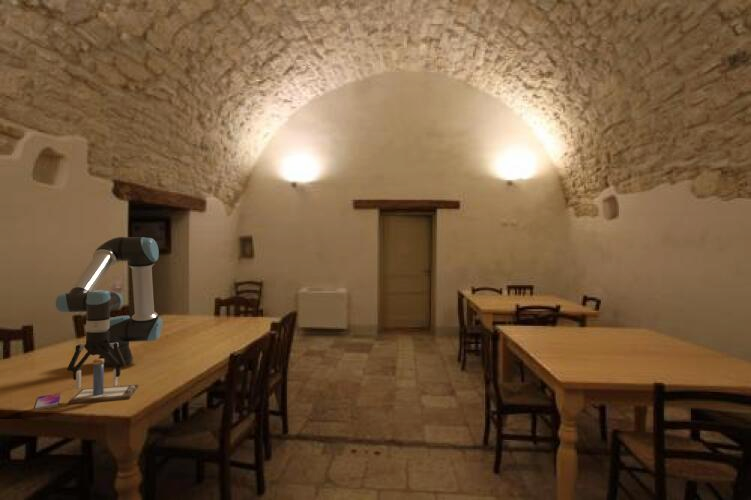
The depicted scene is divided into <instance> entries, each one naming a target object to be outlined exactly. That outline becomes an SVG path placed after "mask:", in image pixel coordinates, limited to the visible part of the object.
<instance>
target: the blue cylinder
mask: <svg viewBox="0 0 751 500" xmlns="http://www.w3.org/2000/svg"><path fill="white" fill-rule="evenodd" d="M92 362H93V363H92V364H93V369H92V370H93V372H92V375H93V376H92V388H93V395H94V396H98V395H102V394H103V393H104V387H105V382H104V380H105V379H104V378H105V377H104V376H105V367H104V359H103V358H100V359H98V358H95V359H93V361H92Z"/></svg>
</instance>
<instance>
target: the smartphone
mask: <svg viewBox="0 0 751 500" xmlns="http://www.w3.org/2000/svg"><path fill="white" fill-rule="evenodd" d="M61 398H62V393H61V392H59V393H54V394H53V393H52V394H46V395H41V396H38V397H37V399H36V402H35V405H34V408H33V411H40V410H41V411H42V410H45V409H51V408H57V407H60V403H61V402H60V401H61Z"/></svg>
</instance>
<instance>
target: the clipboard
mask: <svg viewBox="0 0 751 500" xmlns="http://www.w3.org/2000/svg"><path fill="white" fill-rule="evenodd" d="M138 388H139V384H131V385H130V384H129V385H120V386H119V385H118V386H117V385H116V386H106V387H105V386H104V393H103V394H102V395H98V396H94V395H93V387H91V388H82V389H80V390H79V392H77V393H76V394H75V395H74V396H73V397H72V398H70V400H68V404H67V405H77V404H79V405H80V404H87V403H90V404H91V403H98V402H99V403H100V402H109V401H122V400H130V399H131V398H132V396H133V395H134V394H135V392H136V391H137V390H138Z"/></svg>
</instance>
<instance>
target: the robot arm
mask: <svg viewBox="0 0 751 500" xmlns="http://www.w3.org/2000/svg"><path fill="white" fill-rule="evenodd" d="M159 254H160V251H159V246H158V243H157V241H155V239H154V238H152V237H143V236H139V237H138V236H137V237H135V236H133V237H132V236H127V237H125V236H119V237H114V238H111V239H109V240H107V241H105V242H103V243H102V244H101V245H99V246H98V247H97V248H96V249H95V251H94V252H93V254H92V259H91V260H90V262H89V263H88V265H87V267H86V268H85V270H84V271H83V273H81V275H80V276H79V278H78V279H77V280H76V282H75V284H74V285H73V287H72V288H71V289H70V290H69V292H68V293H67V292H63V293H60V294H58V295H57V296H56V299H55V307H56V310H57V311H58V312H60V313H61V312H62V313H63V312H64V313H84V312H85V313H86V318H85V319H86V320H85V322H86V323H85V325H86V327H85V329H86V332H85V333H86V334H85V344H81V343H79V344H77V345H76V346H75V352H74V354H73V356H72V358H71V360H70V362H69V364H68V366H67V369H66V370H67V371H71V372H72V379H73V381H75V390H79V389H80V388H81V387H82V370H81V369H80V368H81V367H82V365H84V363H85V362H86V361H87V360H88V358H89V357H90V356H91V355H92V356H98V358H97V359H100V358H103V359H104V368H106V367H107V368H109V367H114V368H113V373H112V374H113V375H112V381H113V382H112V387H116V386H117V385H118V378H119V377H120V376H121V369H122V368H123V367H125V366H126V365H128V364H130V363H133V361H134V356H133V353H132V350H131V348H130V342H131V343H133V342H134V343H135V342H136V343H137V342H139V343H140V342H147V343H148V342H154V341H157V340H158V339H159V338H160V336H161V334H162V329H163V319H162V318H161V317H159V314H158V313H157V312H156V311H155V304H154V287H153V286H154V285H153V269H152V267H153V266H154V265H155V263H156V262H157V261H158V260H159ZM121 261H122V262H127V266H128V267H129V268H130V269H131V277H132V291H133V293H132V294H133V304H134V305H133V307H134V314H133V315H132V316H130V315H119V316H113V317H110V315H111V312H113V311H117V310H118V309H120V308H121V307H122V306H123V304H124V303H125V302H124V297H123V295H122V294H121V293H119V292H115V291H113V292H112V291H109V290H105V289H101V290H99V289H97V288H98V287H99V285H100V283H101V282H102V280H103V278H104V277H105V276H106V274H107V272H108V270H109V269H110V267H112V266H114V265H115V264H116V262H121ZM84 349H85V350H86V353H85V354H84V356H83V357H82V358H81V359H80V360H79V362H78V363H77V360H78V358H79V356H80V354H81V352H82V351H83V350H84ZM76 363H77V364H76Z"/></svg>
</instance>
